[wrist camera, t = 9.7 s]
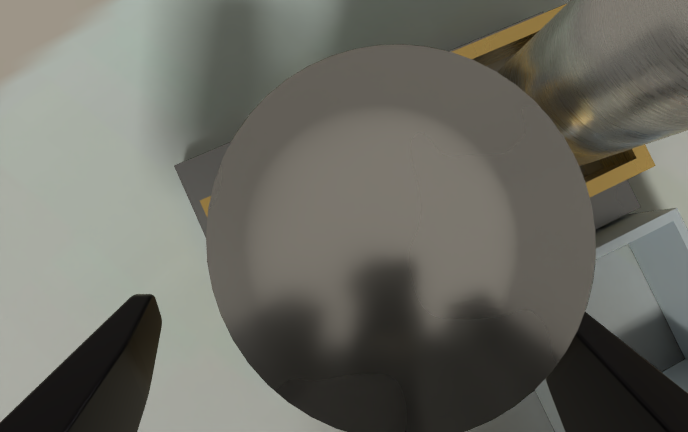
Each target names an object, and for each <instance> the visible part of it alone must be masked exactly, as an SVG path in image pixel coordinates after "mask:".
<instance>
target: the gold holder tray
mask: <svg viewBox="0 0 688 432" xmlns="http://www.w3.org/2000/svg"><path fill="white" fill-rule="evenodd" d="M565 5H566V4H565ZM565 5H562V6H560V7H558V8H555V9H553V10H550V11H548V12H546V13H544V12H541V13H539V14H537V15H534V16H532V17H529V18H527V19H525V20H522V21H520V22H517V23H515V24H513V25H510V26H508V27H505V28H503V29H501V30H498V31H496V32H493V33H491V34H489V35H486V36H484V37H481V38H479V39H477V40H474V41H472V42H469V43H467V44H465V45H462V46H460V47H457V48H455V49H453V50H450V51H449V52H453V53H455V54H458V55H461V56H464V57H467V58H469V59H472V60H475V61H477V62H479V63H481V64H482V65H484V66H486V67H488V68H490V69H492V70H494V71H496V72H497V71H498V70H499V69H500V68H501V67H502V66H503V65H504V64H506V63H507V62H508V61H509V60H510V59H511V58H512V57H513V56H514V55H515V54H516V53H517V52H518V51H519V50H520V49H521V48H522V47H523V46H524V45H525V44H526V43H527V42H528V41H529V40H530V39H531V38H532V37H533V36H534V35H535V34H536V33H537V32H538V31H539V30H541V29H542V28H543V27H544V26H545V25H546V24H547V23H548V22H549V21H550V20H551V19H552V18H553V17H554V16H555V15H556V14H557V13H558V12H559V11H560V10H561V9H562V8H563V7H564V6H565ZM230 144H231V142H230V143H227V144H225V145H222V146H220V147H218V148H215V149H213V150H210V151H208V152H206V153H203V154H201V155H198V156H196V157H194V158H191V159H189V160H186V161H184V162H182V163H179V164H177V165H174V167H175V169H176V171H177V173H178V176H179V178H180V180H181V182H182V185H183V187H184V189H185V191H186V194H187V196H188V198H189V201H190V203H191V205H192V207H193V210H194V212H195V214H196V216H197V219H198V221H199V223H200V225H201V228H202V230H203V232H204V234H205V237H206V229H207V218H208V207H209V203H210V198H211V194H212V189H213V185H214V181H215V178H216V176H217V173H218V170H219V167H220V165H221V162H222V159H223V157H224V155H225V153H226V151H227V149H228V147H229V145H230ZM654 166H655V164H654V162H653V160H652V158H651V156H650V154H649V152H648V150H647V148H646V146H645V145H642V146H639V147H636V148H633V149H630V150H627V151H624V152H621V153H618V154H615V155H612V156H609V157H606V158H603V159H600V160H597V161H594V162H591V163H588V164H585V165H582V166H579V167H580V170H581V172H582V175H583V177H584V180H585V182H586V186H587V190H588V193H589V197H590V201H591V205H592V210H593V217H594V225H595V230H596V229H598V228H600V227H602V226H604V225H606V224H608V223H610V222H612V221H614V220H616V219H618V218H620V217H622V216H624V215H626V214H628V213H630V212H632V211H634V210H636V209H638V208H640V205H639V203H638V201H637V199H636V197H635V195H634V193H633V191H632V189H631V187H630V185H629V183H628V181H627V179H629V178H631V177H633V176H635V175H637V174H639V173H641V172H643V171H646V170H648V169H650V168H652V167H654Z"/></svg>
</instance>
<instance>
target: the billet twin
mask: <svg viewBox="0 0 688 432" xmlns="http://www.w3.org/2000/svg"><path fill="white" fill-rule="evenodd" d="M497 72H498V73H499V74H501V75H502V76H504V77H505V78H507V79H508V80H510V81H511V82H513V83H514V84H516V85H517V86H518V87H519V88H520V89H521V90H523V91H524V92H525V93H526V94H527V95H528V96H530V97H531V98H532V99H533V100H534V101H535V102H536V103H537V104H538V105H539V106H540V107H541V109H542V110H543V111H544V112H545V113H546V114H547V115H548V116H549V117H550V118H551V120H552V121H553V123H554V124H555V125H556V127H557V128H558V130H559V131H560V132H561V134H562V135H563V137H564V138H565V140H566V142H567V143H568V145H569V147H570V149H571V151H572V153H573V154H574V156H575V158H576V160H577V162H578V165H579V166H582V165H585V164H588V163H591V162H594V161H597V160H600V159H603V158H606V157H609V156H612V155H615V154H618V153H621V152H624V151H627V150H630V149H633V148H636V147H639V146H642V145H645V144H648V143H651V142H654V141H657V140H660V139H663V138H666V137H669V136H672V135H675V134H678V133H681V132H684V131H687V130H688V0H570V1H569V2H568V3H567V4H566V5H565V6H564V7H563V8H562V9H561V10H560V11H559V12H558V13H557V14H556V15H555V16H554V17H553V18H552V19H551V20H550V21H549V22H548V23H547V24H546V25H545V26H544V27H543V28H542V29H541V30H539V31H538V32H537V33H536V34H535V35H534V36H533V37H532V38H531V39H530V40H529V41H528V42H527V43H526V44H525V45H524V46H523V47H522V48H521V49H520V50H519V51H518V52H517V53H516V54H515V55H514V56H513V57H512V58H511V59H510V60H509V61H508V62H507V63H506V64H504V65H503V66H502V67H501V68H500V69H499V70H498V71H497Z"/></svg>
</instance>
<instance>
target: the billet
mask: <svg viewBox="0 0 688 432" xmlns="http://www.w3.org/2000/svg"><path fill="white" fill-rule="evenodd" d="M206 244H207V263H208V268H209V273H210V279H211V284H212V289H213V292H214V295H215V298H216V301H217V305H218V308H219V311H220V314H221V316H222V318H223V320H224V322H225V324H226V326H227V328H228V331H229V333H230V335H231V337H232V339H233V341H234V342H235V344H236V345H237V347H238V348H239V350H240V351H241V353H242V354H243V356H244V357H245V359H246V360H247V362H248V363H249V364H250V365H251V366H252V368H253V369H254V370H255V371H256V372H257V373H258V374H259V375H260V377H261V378H262V379H263V380H264V381H265V382H266V383H267V384H268V385H269V386H270V387H271V388H272V389H273V390H275V391H276V392H277V393H278V394H279V395H280V396H282V397H283V398H284V399H285V400H286V401H287V402H289V403H290V404H292V405H294V406H295V407H297V408H298V409H300V410H301V411H303V412H304V413H306V414H308V415H309V416H311V417H313V418H315V419H317V420H319V421H321V422H323V423H326V424H328V425H330V426H332V427H334V428H336V429H340V430H343V431H346V432H464V431H468V430H470V429H472V428H475V427H477V426H479V425H482V424H484V423H486V422H489V421H491V420H493V419H495V418H496V417H498V416H500V415H501V414H503V413H505V412H506V411H508V410H510V409H511V408H513V407H514V406H516V405H517V404H518V403H519V402H521V401H522V400H523V399H524V398H525V397H527V396H528V395H529V394H530V393H532V392H533V391H534V390H535V389H536V388H537V387H538V386H539V385H540V384H541V383H542V382H543V381H544V379H545V378H546V377H547V376H548V375H549V374H550V373H551V372H552V371H553V369H554V368H555V367H556V365H557V364H558V362H559V361H560V360H561V358H562V357H563V355H564V354H565V353H566V351H567V349H568V347H569V346H570V344H571V342H572V340H573V338H574V336H575V334H576V332H577V331H578V329H579V326H580V323H581V321H582V318H583V315H584V313H585V310H586V307H587V304H588V300H589V296H590V292H591V288H592V283H593V277H594V268H595V259H596V236H595V225H594V217H593V210H592V205H591V201H590V197H589V193H588V190H587V186H586V182H585V180H584V177H583V175H582V172H581V170H580V167H579V165H578V162H577V160H576V158H575V156H574V154H573V153H572V151H571V149H570V147H569V145H568V143H567V142H566V140H565V138H564V137H563V135H562V134H561V132H560V131H559V130H558V128H557V127H556V125H555V124H554V123H553V121H552V120H551V118H550V117H549V116H548V115H547V114H546V113H545V112H544V111H543V110H542V109H541V107H540V106H539V105H538V104H537V103H536V102H535V101H534V100H533V99H532V98H531V97H530V96H528V95H527V94H526V93H525V92H524V91H523V90H521V89H520V88H519V87H518V86H517V85H516V84H514V83H513V82H511V81H510V80H508V79H507V78H505V77H504V76H502V75H501V74H499V73H498V72H496V71H494V70H492V69H490V68H488V67H486V66H484V65H482V64H481V63H479V62H477V61H475V60H472V59H469V58H467V57H464V56H461V55H458V54H455V53H453V52H449V51H445V50H440V49H436V48H431V47H426V46H416V45H406V44H396V45H376V46H370V47H363V48H357V49H353V50H349V51H346V52H343V53H339V54H336V55H332V56H330V57H328V58H325V59H323V60H321V61H319V62H316V63H314V64H312V65H310V66H308V67H306V68H304V69H303V70H301V71H300V72H298V73H296V74H295V75H293V76H291V77H290V78H288V79H287V80H285V81H284V82H283V83H282V84H281V85H279V86H278V87H277V88H276V89H274V90H273V91H272V92H271V93H269V94H268V95H267V96H266V97H265V98H264V99H263V101H262V102H261V103H260V104H259V105H258V106H257V107H256V108H255V109H254V110H253V111H252V112H251V113H250V115H249V116H248V117H247V119H246V120H245V122H244V123H243V124H242V126H241V127H240V129H239V130H238V131H237V133H236V134H235V136H234V138H233V140H232V142H231V144H230V145H229V147H228V149H227V151H226V153H225V155H224V157H223V159H222V162H221V165H220V167H219V170H218V173H217V176H216V178H215V181H214V185H213V189H212V194H211V198H210V203H209V207H208V218H207V229H206Z"/></svg>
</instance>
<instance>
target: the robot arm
mask: <svg viewBox="0 0 688 432" xmlns="http://www.w3.org/2000/svg"><path fill="white" fill-rule="evenodd" d="M161 326H162V319H161V315H160V312H159V308H158V305H157V302H156V299H155V297H154V296H153V295H151V294H136V295H133V296H132V297H130V298H129V299H128V300H127V301H126V302H125V303H124V304H123V305H122V306H121V307H120V308H119V309H118V310H117V311H116V312H115V313H114V314H113V315H112V316H111V317H109V318H108V319H107V320H106V321H105V322H104V323H103V324H102V325H101V326H100V327H99V328H98V329H97V330H96V331H95V332H94V333H93V334H92V335H91V336H90V337H89V338H88V339H87V340H86V341H84V342H83V343H82V344H81V345H80V346H79V347H78V348H77V349H76V350H75V351H74V352H73V353H72V354H71V355H70V356H69V357H68V358H67V359H66V360H65V361H64V362H63V363H62V364H61V365H60V366H58V367H57V368H56V369H55V370H54V371H53V372H52V373H51V374H50V375H49V376H48V377H47V378H46V379H45V380H44V381H43V382H42V383H41V384H40V385H39V386H38V387H37V388H36V389H35V390H33V391H32V392H31V393H30V394H29V395H28V396H27V397H26V398H25V399H24V400H23V401H22V402H21V403H20V404H19V405H18V406H17V407H16V408H15V409H14V410H13V411H12V412H11V413H10V414H9V415H7V416H6V417H5V418H4V419H3V420H2V421H1V422H0V432H137V430H138V427H139V424H140V421H141V418H142V414H143V411H144V408H145V405H146V401H147V398H148V394H149V390H150V385H151V380H152V375H153V370H154V364H155V359H156V354H157V348H158V343H159V338H160V332H161ZM545 379H546V382H547V385H548V388H549V391H550V393H551V396H552V399H553V401H554V404H555V406H556V409H557V412H558V414H559V417H560V420H561V422H562V425H563V427H564V430H565V432H688V393H687V392H686V391H685V390H683V389H682V388H681V387H679V386H678V385H677V384H676V383H674V382H673V381H672V380H671V379H669V378H668V377H667V376H666V375H664V374H663V373H662V372H661V371H659V370H658V369H657V368H656V367H654V366H653V365H652V364H650V363H649V362H648V361H647V360H645V359H644V358H643V357H642V356H640V355H639V354H638V353H637V352H635V351H634V350H633V349H632V348H630V347H629V346H628V345H626V344H625V343H624V342H623V341H621V340H620V339H619V338H618V337H616V336H615V335H614V334H613V333H611V332H610V331H609V330H608V329H606V328H605V327H604V326H603V325H601V324H600V323H599V322H597V321H596V320H595V319H594V318H592V317H591V316H590V315H589V314H587V313H586V312H585V313H584V315H583V318H582V321H581V323H580V326H579V329H578V331H577V332H576V334H575V336H574V338H573V340H572V342H571V344H570V346H569V347H568V349H567V351H566V353H565V354H564V355H563V357H562V358H561V360H560V361H559V362H558V364H557V365H556V367H555V368H554V369H553V371H552V372H551V373H550V374H549V375H548V376H547V377H546V378H545Z"/></svg>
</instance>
